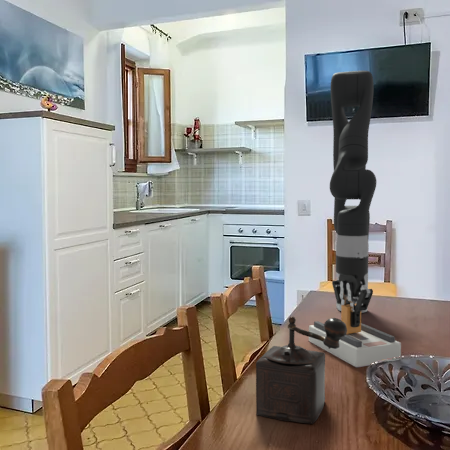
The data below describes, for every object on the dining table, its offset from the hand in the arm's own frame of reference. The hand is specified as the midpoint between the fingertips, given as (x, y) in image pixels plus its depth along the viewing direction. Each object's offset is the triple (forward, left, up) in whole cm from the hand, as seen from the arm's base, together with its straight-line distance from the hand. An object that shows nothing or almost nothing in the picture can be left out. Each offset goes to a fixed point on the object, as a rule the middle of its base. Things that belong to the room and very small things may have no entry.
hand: (351, 324), depth 119 cm
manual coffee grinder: (+24, -27, -6) cm, 37 cm away
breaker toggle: (0, 0, -2) cm, 2 cm away
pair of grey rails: (0, 0, -2) cm, 2 cm away
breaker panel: (0, 0, -6) cm, 6 cm away
